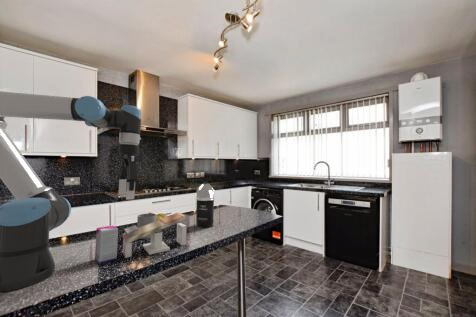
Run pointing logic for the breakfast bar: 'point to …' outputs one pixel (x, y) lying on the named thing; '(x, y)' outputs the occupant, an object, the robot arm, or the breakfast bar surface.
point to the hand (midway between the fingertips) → (125, 197)
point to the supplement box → (106, 244)
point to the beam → (151, 227)
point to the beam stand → (157, 242)
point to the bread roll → (160, 216)
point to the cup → (145, 221)
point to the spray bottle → (205, 205)
